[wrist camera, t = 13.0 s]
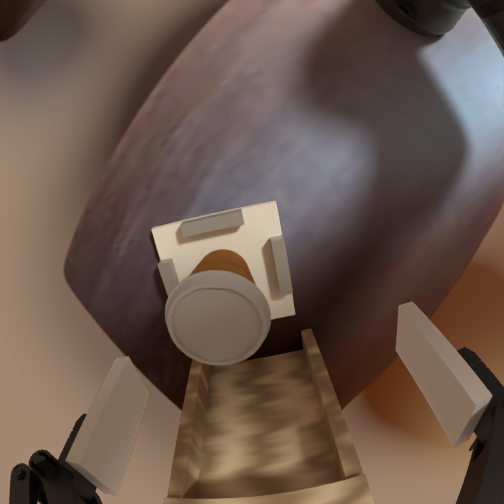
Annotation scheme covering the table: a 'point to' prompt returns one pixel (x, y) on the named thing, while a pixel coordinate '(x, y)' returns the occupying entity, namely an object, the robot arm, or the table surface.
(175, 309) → the disposable coffee cup
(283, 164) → the table surface
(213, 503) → the upright plywood slab
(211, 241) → the seat plate
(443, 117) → the table surface
